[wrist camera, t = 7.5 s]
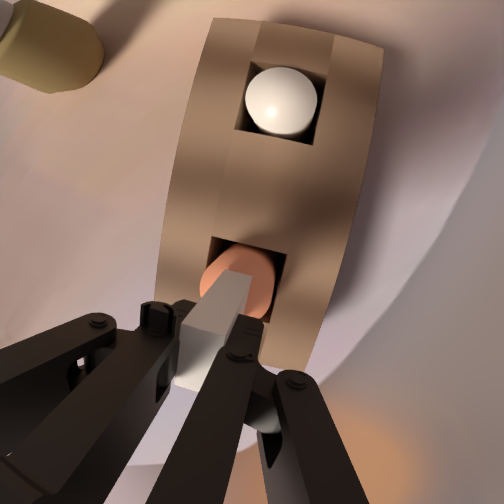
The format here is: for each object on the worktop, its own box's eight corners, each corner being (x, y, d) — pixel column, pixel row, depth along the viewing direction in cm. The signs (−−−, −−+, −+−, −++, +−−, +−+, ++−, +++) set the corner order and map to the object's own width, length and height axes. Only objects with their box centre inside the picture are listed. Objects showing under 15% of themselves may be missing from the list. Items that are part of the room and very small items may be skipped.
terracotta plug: (229, 231, 21) (206, 248, 15) (283, 244, 21) (280, 266, 15) (219, 282, 22) (195, 314, 16) (270, 295, 22) (262, 333, 16)
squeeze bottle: (86, 26, 20) (-26, -31, 3) (128, 43, 21) (-3, -38, 3) (47, 86, 22) (-78, 60, 5) (83, 111, 23) (-72, 83, 5)
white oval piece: (263, 92, 20) (253, 62, 14) (315, 102, 20) (322, 75, 14) (252, 140, 21) (238, 123, 15) (304, 151, 21) (309, 138, 15)
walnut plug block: (231, 52, 20) (213, 17, 14) (363, 78, 19) (384, 48, 13) (180, 301, 25) (151, 331, 19) (302, 333, 24) (303, 373, 19)
